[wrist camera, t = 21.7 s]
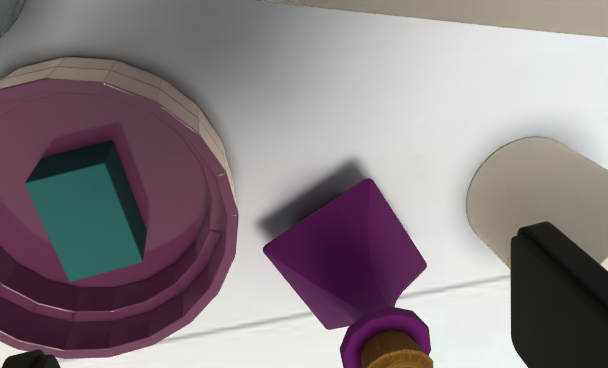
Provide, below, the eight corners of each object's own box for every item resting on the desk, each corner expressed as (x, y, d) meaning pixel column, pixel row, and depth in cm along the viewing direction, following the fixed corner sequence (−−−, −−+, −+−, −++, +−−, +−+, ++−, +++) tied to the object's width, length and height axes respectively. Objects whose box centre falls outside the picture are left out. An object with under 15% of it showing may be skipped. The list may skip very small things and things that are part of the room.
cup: (454, 246, 39) (556, 366, 28) (482, 133, 36) (608, 220, 25) (559, 247, 41) (692, 361, 30) (594, 140, 38) (757, 223, 27)
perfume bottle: (255, 223, 35) (309, 466, 19) (355, 156, 35) (499, 349, 19) (317, 300, 39) (408, 565, 22) (410, 240, 38) (573, 467, 22)
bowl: (-105, 95, 29) (-165, 128, 24) (189, 25, 30) (189, 43, 25) (19, 327, 35) (-9, 391, 30) (256, 262, 37) (266, 313, 32)
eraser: (40, 157, 31) (23, 183, 28) (113, 139, 31) (104, 162, 28) (80, 250, 33) (69, 283, 30) (147, 232, 34) (143, 263, 31)
